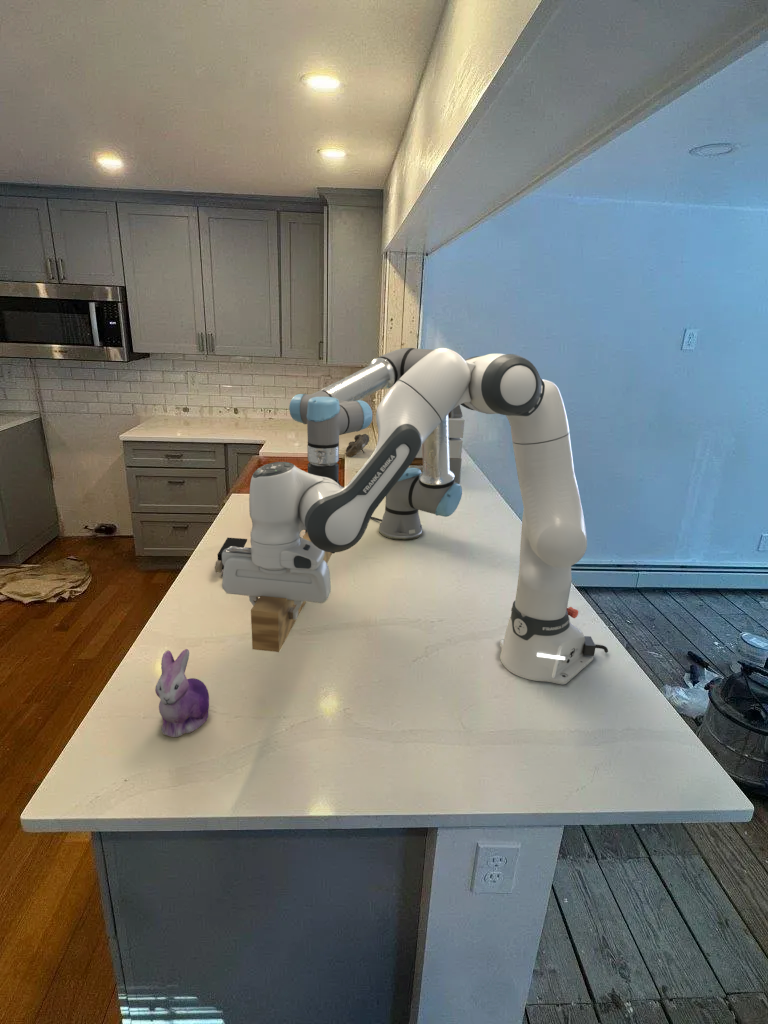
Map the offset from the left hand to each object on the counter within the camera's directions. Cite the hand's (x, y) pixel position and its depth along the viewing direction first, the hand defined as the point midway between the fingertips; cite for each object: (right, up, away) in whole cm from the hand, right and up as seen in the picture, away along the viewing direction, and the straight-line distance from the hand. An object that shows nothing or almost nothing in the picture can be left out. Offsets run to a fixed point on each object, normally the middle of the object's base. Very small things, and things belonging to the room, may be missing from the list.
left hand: (322, 550), depth 145 cm
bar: (-2, -7, -18) cm, 19 cm away
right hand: (-5, -10, -37) cm, 38 cm away
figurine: (-22, -30, -39) cm, 53 cm away
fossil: (+1, +42, +162) cm, 167 cm away
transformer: (+33, +29, +130) cm, 137 cm away
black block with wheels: (-29, -7, +22) cm, 38 cm away
